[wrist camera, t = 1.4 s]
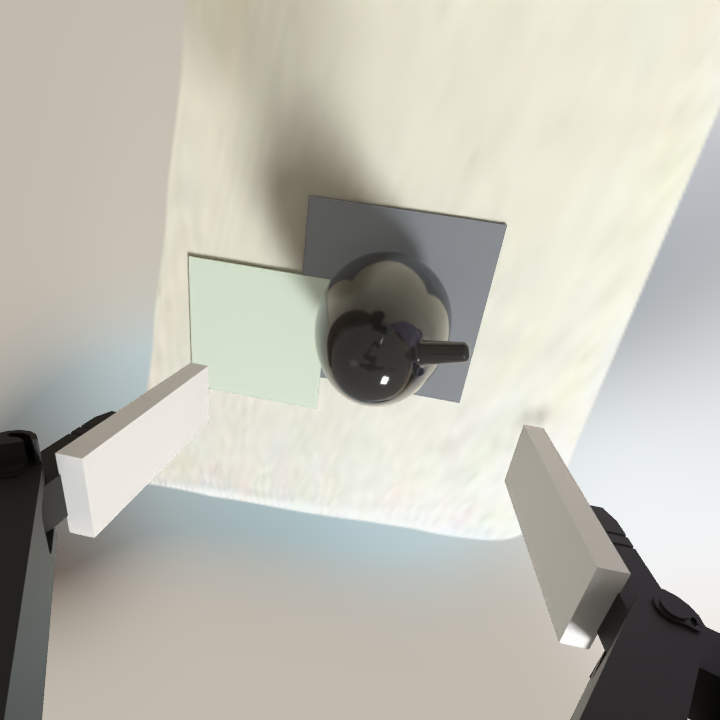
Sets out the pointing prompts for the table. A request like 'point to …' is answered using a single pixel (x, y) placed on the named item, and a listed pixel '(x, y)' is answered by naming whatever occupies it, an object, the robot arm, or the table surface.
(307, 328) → the mat
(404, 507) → the table surface
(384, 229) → the tile
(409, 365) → the pump dispenser
